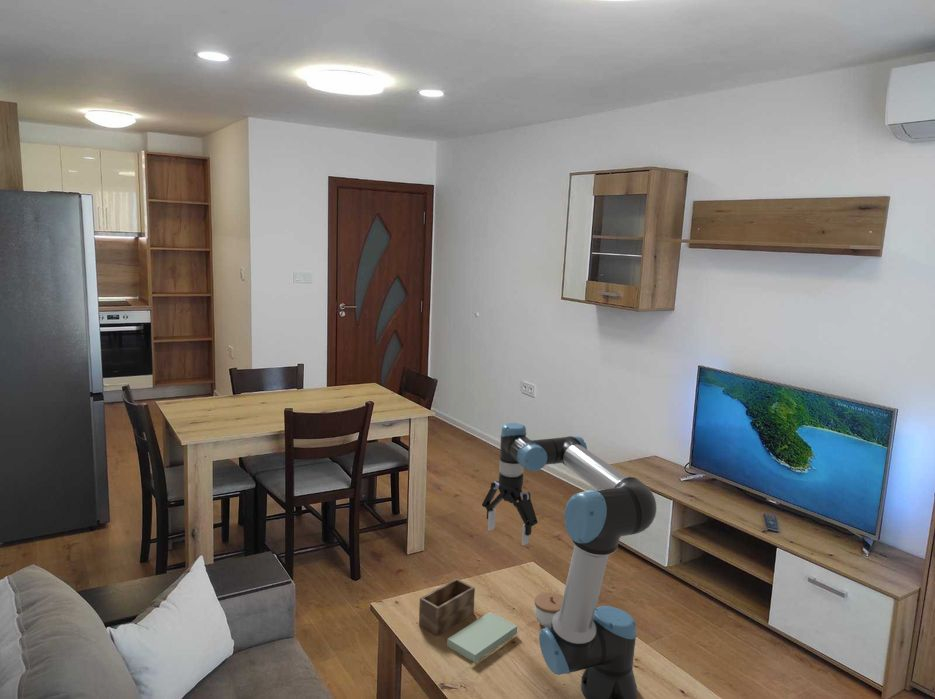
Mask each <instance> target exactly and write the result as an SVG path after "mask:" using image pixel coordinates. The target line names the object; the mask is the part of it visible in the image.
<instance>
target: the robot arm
mask: <svg viewBox="0 0 935 699" xmlns="http://www.w3.org/2000/svg"><path fill="white" fill-rule="evenodd" d="M499 449H500V456H499V468H498V470H499V473H498V480H496V481H495V480H494V481H493V482H490V489H489V490H488V491H487V492H488V493H487V494H486V496H485V498H484V500H483V502H482V504H481V506H482V507H483V508H485V509H486V519H487V521H488V522H487V531H488V532H490V531H492V530H495V527H496V515H497V514H496V512H497V511H496V510H497V509H495V508H496V507H497V505H498V504H500V502H501V501H504V502H508V503H509V504H512V505H513V506H514V507H515V508H516V509H517V510H516V511H518V514H519V515H520V518H521V520H522V521H523V524H522V530H521V532H522V533H521V546H523V547H524V546H526V545H527V544H529V542H530V535H531V534H532V528H533V526H535V525H537V524H538V519H537V516H536V512H535V509H534V506H533V503H532V500H531V492H529V491H527V492H523V490H522V489H523V485H524V468H525V469H526V470H528V471H531V472H538V471H540V470H541V469H543V468H544V467H545V466H549V465H555V464H556V465H557V464H563V465H564V466H566V467H567V468H568V469H570V470H571V471H572V472H573V473H575V474H576V476H579V477H580V478H581V479H582V480H584V481H585V482H587V483H588V484H589V485H590V486H591V487H593V488H594V489H588V490H584V491H581V492H577V493H574V494H573V495H572V496H571V497H570V498H569V500H568V501H567V503H566V506H565V508H564V515H563V516H564V520H565V523H564V526H565V530H566V533H567V535H568V536H569V538H570V541H571V542H572V544H573V545H574V546H573V550H572V554H571V555H572V556H571V559H570V563H569V569H568V574H567V577H566V583H565V587H564V592H563V595H562V596H563V600H562V605H561V609H560V611H558V612H557V613H556V614H555V615H554V616H553V619H552V623H551V627H549V628H547V627H544V628H542V629H540V631H539V636H538V637H539V639H538V641H539V648H540V650H541V651H540V652H541V654H542V658H543V660H544V662H545V664H546V666H547V668H548V669H549V670H550V671H551V672H552V673H553V674H555V675H559V676H561V675H565V674H566V675H569V674H572V673H574V672H579V671H583V670H584V671H583V673H582V675H581V680H580V689H581V692H582V694H583V696H584V697H585V698H586V699H637V697H638V696H637V695H638V694H637V693H638V686H637V683H636V678H635V673H634V669H633V666H634V658H635V647H636V638H637V623H636V621H635V619H634V618H633V617H632V615H630V614H629V613H627V611H624V610H622V609H620V608H617V607H614V606H610V605H602V606H598V607H597V604H598V601H599V597H600V593H601V589H602V585H603V580H604V576H605V572H606V569H607V563H608V560H609V556H610V555H612V554H614V553H615V552H616V551H617V550H618V546H619V542H620V539H621V537H625V536H632V535H637V534H640V533H642V532H644V531H646V530H647V529H648V528H649V527H650V526H651V525H652V524H653V522H654V521H655V517H656V516H657V515H656V514H657V502H656V498H655V495H654V494H653V492H652V490H651V489H650V488H649V487H648V486H647V485H646V484H645V483H644V482H642V481H641V480H639V479H638V478H637V477H635V476H627V475H625V474H624V473H622V472H621V471H619V470H618V469H616V468H615V467H614V466H612V465H611V464H609V463H608V462H606V461H604V460H603V459H602V458H601V457H599V456H597V455H596V454H595V453H593V452H591V451H590V450H588V447H587V444H586V442H585V440H584V438H582V437H581V436H575V435H574V436H571V435H569V436H564V437H563V436H562V437H555V438H554V437H553V438H544V439H533V440H532V439H531V438H528V437H527V429H526V425H524V424H522V423H517V422H508V423H504V424H503V425H502V427H501V433H500V448H499ZM498 491H499V494H498V495H497V496H496V497H495V495H496V493H497V492H498ZM494 497H495V498H494ZM493 498H494V499H493Z"/></svg>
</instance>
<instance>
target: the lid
mask: <svg viewBox="0 0 935 699" xmlns="http://www.w3.org/2000/svg"><path fill="white" fill-rule="evenodd" d="M517 633H518V625H517V624H514V623H513V622H511V621H508V620H507V619H506V618H503V617H501V616H499V615H497V614H495V613H493V612H491V611H489V612H488V613H486V614H484V615H482V616H481V617H479V618H478V619H476V620H474V621H473V622H472V623H470V624H468V625H467V626H465V627H464V628H462V629H460V630H458V631H457V632H456V633H454V634H453V635H451V636H449V637H447V640H446V647H447V648H450V649H451V650H453V651H454V652H456V653H458V654H459V655H461V656H463V657H464V658H466V659H468V660H469V661H471V662H473V663H474V664H475V663H477V662H478V661H480V660H481V659H482V658H484V657H485V656H487V655H488V654H490V653H491V652H492V651H494V650H496V648H498V647H500V646H501V645H502V644H504V643H505V642H507V641H509V639H511V638H512V637H514V636H516V635H517Z"/></svg>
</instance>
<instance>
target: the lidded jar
mask: <svg viewBox="0 0 935 699" xmlns="http://www.w3.org/2000/svg"><path fill="white" fill-rule="evenodd" d="M563 596H564V595H563V594H562V595H561V594H560V593H557V592H552V591H547V592H546V591H545V592H541V593H539V594H537V595H535V597H534V615H535V617H536V620H537V622H539V623H540V625H541V626H542V627H544V628H545V627H547V628H549V627H551V623H552V619H553V616H554V615H555V614H556V613H557V612H558V611H560V609H561V605H562V600H563Z"/></svg>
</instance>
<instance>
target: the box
mask: <svg viewBox="0 0 935 699" xmlns="http://www.w3.org/2000/svg"><path fill="white" fill-rule="evenodd" d="M475 591H476V588H475V587H474V586H473V585H471V584H469V583H467V582H464V581H463V580H461V579H460V578H454V579H452V580H451V581H449V582H447V583H445V584H443V585H442V586H440V587H438V588H436V589H434V590H432V591H430V592H428V593H427V594H425V595H422V596H421V597H420V598H419V608H418V609H419V610H418V611H419V614H418V625H419V626H420V627H422V628H423V629H424V630H426V631H428V632H430V633H432V635H434V636H436V637H438V636H440V635H441V634H442V635H443V633H444V632H446V631H448V630H449V629H451V628H452V627H454V626H456V625H457V624H459V623H461V622H463V621H464V620H466V619H467V618H469V617H470V616H472V615H474V614H475V613H474V612H475V593H476V592H475Z"/></svg>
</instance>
